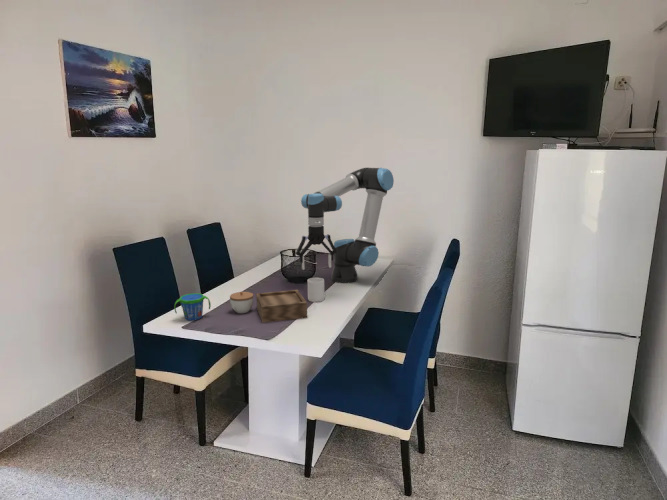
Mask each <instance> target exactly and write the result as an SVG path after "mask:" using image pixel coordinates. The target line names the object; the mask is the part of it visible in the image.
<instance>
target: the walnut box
mask: <svg viewBox="0 0 667 500" xmlns="http://www.w3.org/2000/svg"><path fill="white" fill-rule="evenodd" d="M255 297H256V309H257V312H258V314H259V318H260V320H261V322H262V323H272V322H273V323H274V322H279V321H290V320H298V319H307V318H308V301H307V300H306V298H304V296H303V295H302V294H301V292H300V291H299V289H291V290H290V289H289V290H281V291H270V292H260V293H258V292H257V293H256V296H255Z"/></svg>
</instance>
